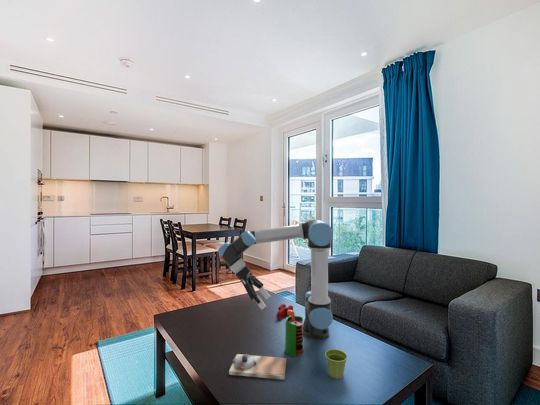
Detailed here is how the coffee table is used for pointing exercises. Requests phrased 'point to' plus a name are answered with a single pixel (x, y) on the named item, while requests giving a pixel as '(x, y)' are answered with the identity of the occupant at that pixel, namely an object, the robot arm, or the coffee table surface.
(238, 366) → the board
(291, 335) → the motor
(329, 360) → the plant pot
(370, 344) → the coffee table surface
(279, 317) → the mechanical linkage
